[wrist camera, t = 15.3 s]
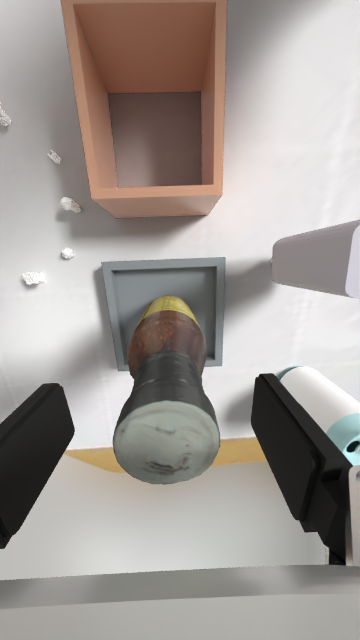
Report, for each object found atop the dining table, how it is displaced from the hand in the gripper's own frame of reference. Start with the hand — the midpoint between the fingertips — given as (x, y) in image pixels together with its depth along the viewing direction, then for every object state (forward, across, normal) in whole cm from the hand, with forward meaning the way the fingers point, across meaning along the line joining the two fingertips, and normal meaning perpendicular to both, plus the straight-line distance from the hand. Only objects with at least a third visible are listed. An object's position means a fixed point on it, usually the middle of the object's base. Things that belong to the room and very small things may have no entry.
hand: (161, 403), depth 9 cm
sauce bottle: (+18, 0, +1) cm, 18 cm away
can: (+19, -20, +14) cm, 31 cm away
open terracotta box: (+19, 0, -18) cm, 26 cm away
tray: (+18, 0, +1) cm, 18 cm away
